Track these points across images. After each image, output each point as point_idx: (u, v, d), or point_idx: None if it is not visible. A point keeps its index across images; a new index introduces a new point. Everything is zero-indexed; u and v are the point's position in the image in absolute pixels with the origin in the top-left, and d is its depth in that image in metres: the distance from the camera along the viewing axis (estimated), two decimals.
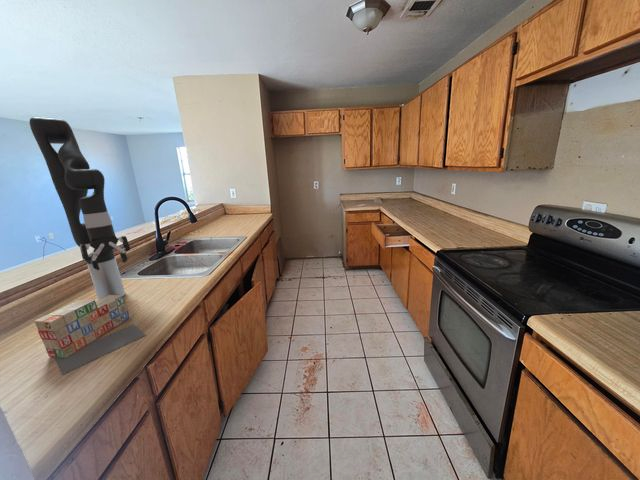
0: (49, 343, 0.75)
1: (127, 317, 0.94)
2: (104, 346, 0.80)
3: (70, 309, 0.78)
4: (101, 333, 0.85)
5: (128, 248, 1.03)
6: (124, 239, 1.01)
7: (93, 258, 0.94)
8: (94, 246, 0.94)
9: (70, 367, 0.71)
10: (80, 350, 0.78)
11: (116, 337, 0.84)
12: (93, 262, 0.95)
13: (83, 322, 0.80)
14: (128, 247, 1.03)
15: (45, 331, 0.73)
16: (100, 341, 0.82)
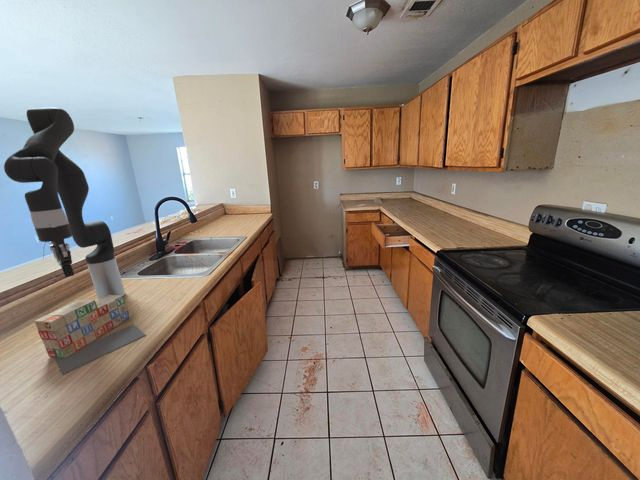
0: (49, 343, 0.75)
1: (127, 317, 0.94)
2: (104, 346, 0.80)
3: (70, 309, 0.78)
4: (101, 333, 0.85)
5: None
6: None
7: None
8: (67, 251, 0.82)
9: (70, 367, 0.71)
10: (80, 350, 0.78)
11: (116, 337, 0.84)
12: (70, 266, 0.84)
13: (83, 322, 0.80)
14: None
15: (45, 331, 0.73)
16: (100, 341, 0.82)
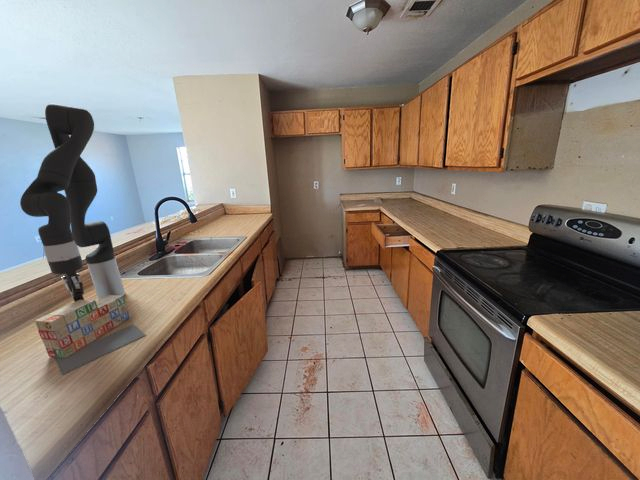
0: (49, 343, 0.74)
1: (127, 317, 0.94)
2: (104, 346, 0.80)
3: (71, 309, 0.78)
4: (101, 333, 0.85)
5: None
6: None
7: None
8: (79, 282, 0.83)
9: (70, 367, 0.71)
10: (80, 350, 0.78)
11: (116, 337, 0.84)
12: None
13: (84, 322, 0.80)
14: None
15: (45, 331, 0.73)
16: (100, 341, 0.82)
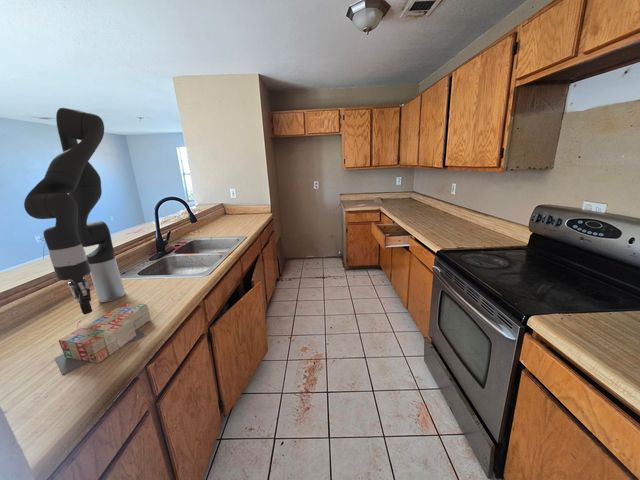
0: (73, 348, 0.73)
1: None
2: None
3: (117, 343, 0.78)
4: None
5: None
6: None
7: None
8: (86, 288, 0.78)
9: (70, 367, 0.71)
10: None
11: None
12: (88, 303, 0.80)
13: None
14: None
15: (85, 351, 0.72)
16: None
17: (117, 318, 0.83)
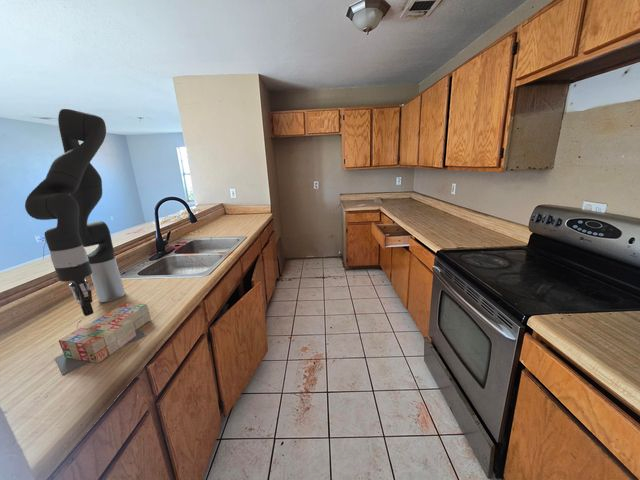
0: (73, 348, 0.73)
1: None
2: None
3: (117, 343, 0.78)
4: None
5: None
6: None
7: None
8: None
9: (70, 367, 0.71)
10: None
11: None
12: (89, 305, 0.80)
13: None
14: None
15: (85, 351, 0.72)
16: None
17: (117, 318, 0.83)
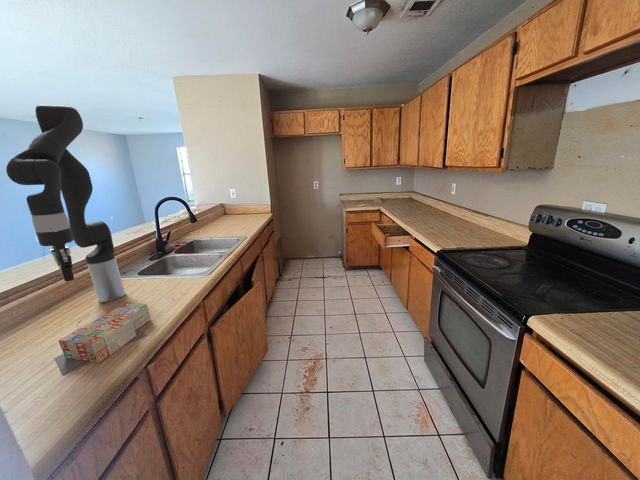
0: (73, 348, 0.73)
1: None
2: None
3: (117, 343, 0.78)
4: None
5: None
6: None
7: None
8: (68, 255, 0.80)
9: (70, 367, 0.71)
10: None
11: None
12: (70, 271, 0.83)
13: None
14: None
15: (85, 351, 0.72)
16: None
17: (117, 318, 0.83)
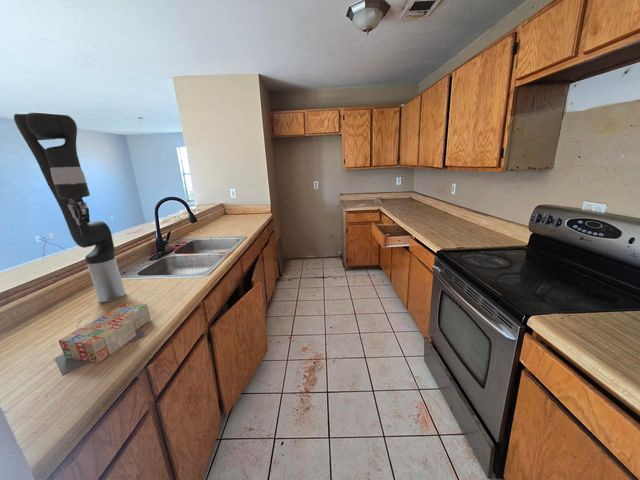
0: (73, 348, 0.73)
1: None
2: None
3: (117, 343, 0.78)
4: None
5: None
6: None
7: None
8: None
9: (70, 367, 0.71)
10: None
11: None
12: None
13: None
14: (84, 217, 0.88)
15: (85, 351, 0.72)
16: None
17: (117, 318, 0.83)
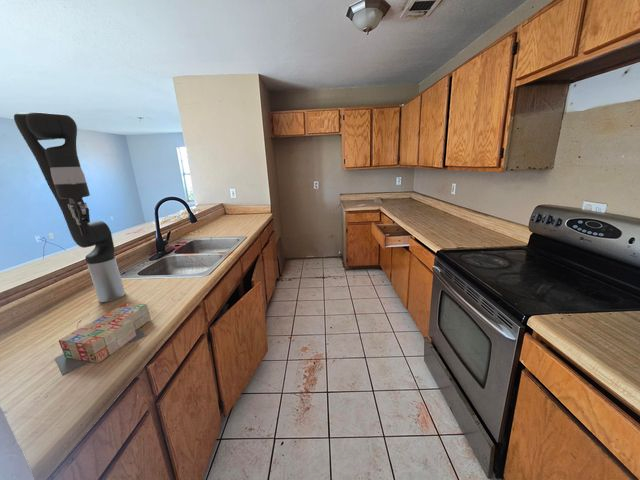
0: (73, 348, 0.73)
1: None
2: None
3: (117, 343, 0.78)
4: None
5: None
6: None
7: None
8: None
9: (70, 367, 0.71)
10: None
11: None
12: None
13: None
14: (84, 217, 0.88)
15: (85, 351, 0.72)
16: None
17: (117, 318, 0.83)
